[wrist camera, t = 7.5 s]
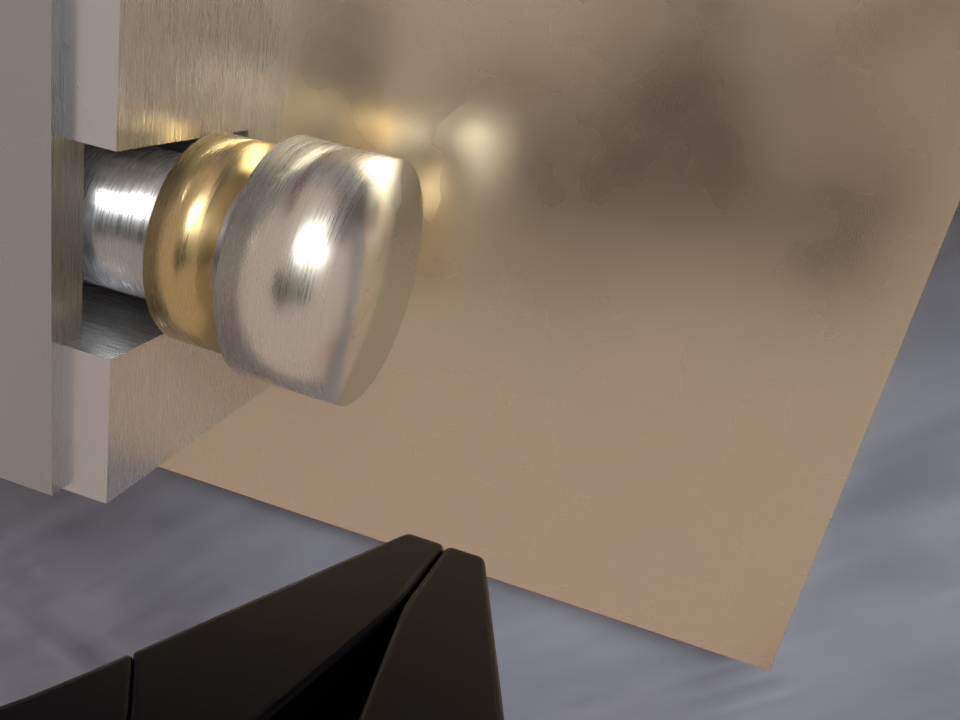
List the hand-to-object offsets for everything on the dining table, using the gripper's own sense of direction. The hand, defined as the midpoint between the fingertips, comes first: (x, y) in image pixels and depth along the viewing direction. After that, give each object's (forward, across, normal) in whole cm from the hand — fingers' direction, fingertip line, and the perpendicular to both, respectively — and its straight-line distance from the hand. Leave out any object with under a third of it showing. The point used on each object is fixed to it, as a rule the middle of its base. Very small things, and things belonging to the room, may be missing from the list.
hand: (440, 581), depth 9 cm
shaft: (+10, +11, 0) cm, 15 cm away
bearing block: (+12, +6, 0) cm, 14 cm away
